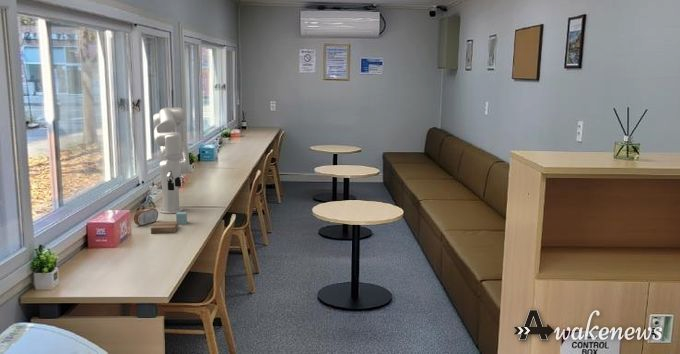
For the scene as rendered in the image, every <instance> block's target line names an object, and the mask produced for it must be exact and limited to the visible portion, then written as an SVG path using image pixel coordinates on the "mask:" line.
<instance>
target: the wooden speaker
mask: <svg viewBox="0 0 680 354" xmlns="http://www.w3.org/2000/svg"><path fill="white" fill-rule="evenodd" d="M158 218H159V212H158V210H157V209H156V208H154V207H148V208H144V209H141V210H140V209H139V210H138V211H136V212H135V214H134V215H133V221H134V224H135V225H137V226H141V227H142V226H143V227H144V226H147V225H150V224H154V223H155V222H157V220H158Z"/></svg>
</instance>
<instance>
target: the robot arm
mask: <svg viewBox="0 0 680 354" xmlns="http://www.w3.org/2000/svg"><path fill="white" fill-rule="evenodd" d="M152 117H153V118H152V121H153V126H154V130H153V139H154V144H155V145H156V146H157V147H159V150H160V151H159V152H160V156H161V157H162V158H165V159H162V160H161V161H160V162H159V164H158V169H159V174H160V181H161V195H162V208H160V210H159V211H160V213H162V214H165V215H166V214H168V215H169V214H177V212H183V208H182V207H180V195H179V194H180V192H179V188H180V187H181V186H182V180H181V179H182V176H181V175H187V174H189V173H190V170H191V164H190V157H189V148H188V145H187V143H186V142H185V141H183V137H182V134H181V133H180V132H177V131H175V130H176V127H182V126H183V125H184V123H185V120H186V112H185V110H184V108H181V107H179V106H178V107H164V108H161V109H160V110H159V111H158V112H156V113H154V114H153V116H152Z"/></svg>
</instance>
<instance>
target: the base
mask: <svg viewBox="0 0 680 354" xmlns="http://www.w3.org/2000/svg"><path fill="white" fill-rule="evenodd" d="M178 229H179V225H178V221H155V222H153V223H152V226H151V228H150V234H154V235H156V234H175V233H176V232H177V230H178Z"/></svg>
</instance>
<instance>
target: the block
mask: <svg viewBox="0 0 680 354" xmlns="http://www.w3.org/2000/svg"><path fill="white" fill-rule="evenodd" d="M175 218H176V221H178V226H180V225H182V226H183V225H187V223H188V213H187V211H181V212H177V213H175Z"/></svg>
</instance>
